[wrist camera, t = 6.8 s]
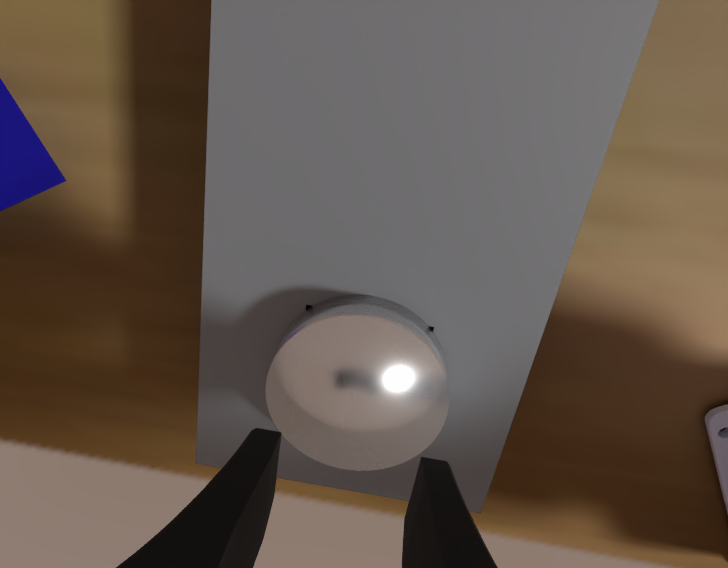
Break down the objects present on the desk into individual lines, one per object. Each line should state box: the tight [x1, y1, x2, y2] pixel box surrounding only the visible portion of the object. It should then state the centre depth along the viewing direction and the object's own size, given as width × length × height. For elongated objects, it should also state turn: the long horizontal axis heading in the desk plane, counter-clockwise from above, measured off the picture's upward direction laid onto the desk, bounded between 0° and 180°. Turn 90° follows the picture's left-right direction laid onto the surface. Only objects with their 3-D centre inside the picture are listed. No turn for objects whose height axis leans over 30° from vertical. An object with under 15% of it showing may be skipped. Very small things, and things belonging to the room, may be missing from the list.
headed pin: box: [265, 295, 449, 471], centre depth 18 cm, size 5×5×5 cm
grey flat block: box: [196, 0, 659, 513], centre depth 17 cm, size 18×10×4 cm, turn 171°
